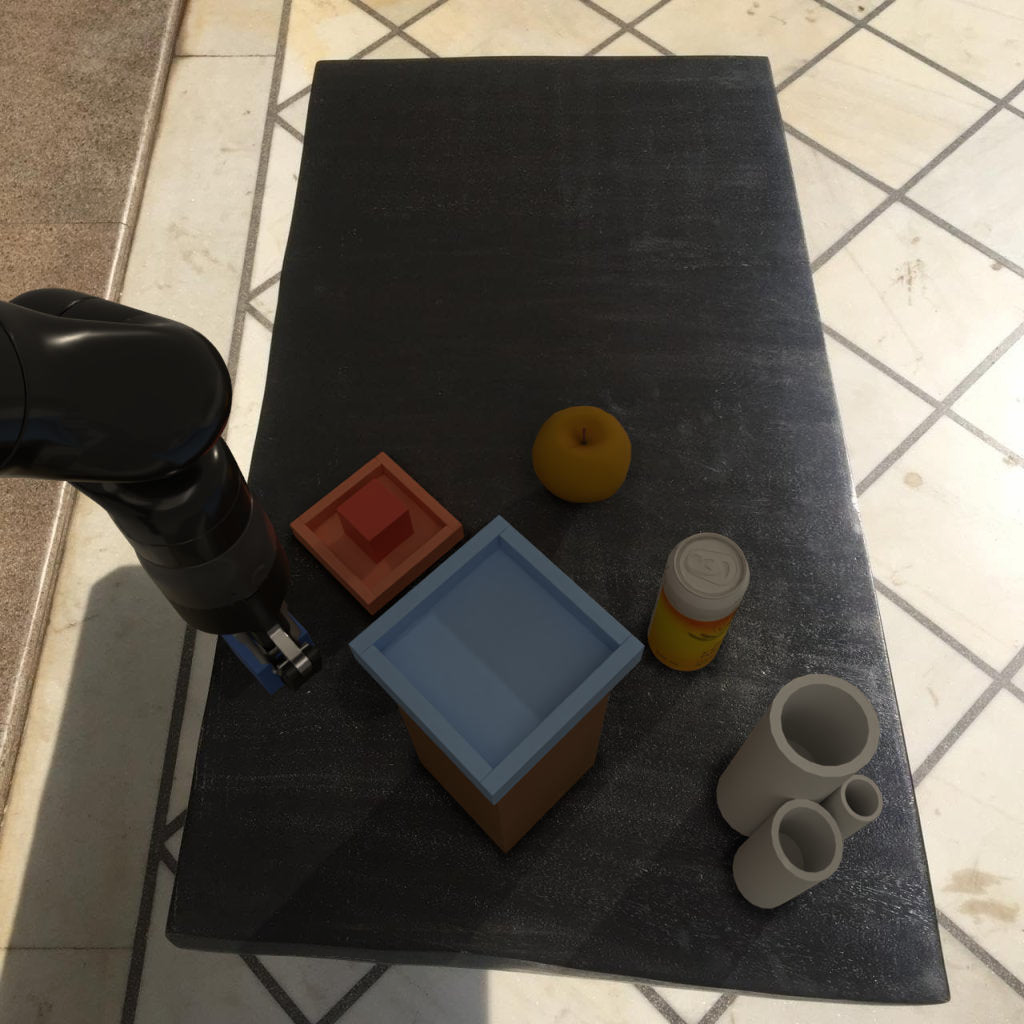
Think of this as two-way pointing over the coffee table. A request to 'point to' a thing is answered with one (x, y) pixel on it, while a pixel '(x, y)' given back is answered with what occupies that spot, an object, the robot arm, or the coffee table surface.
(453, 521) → the red tray
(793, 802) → the vase
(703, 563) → the beer can
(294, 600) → the coffee table surface
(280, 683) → the blue block
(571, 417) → the apple
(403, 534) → the red block
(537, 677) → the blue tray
